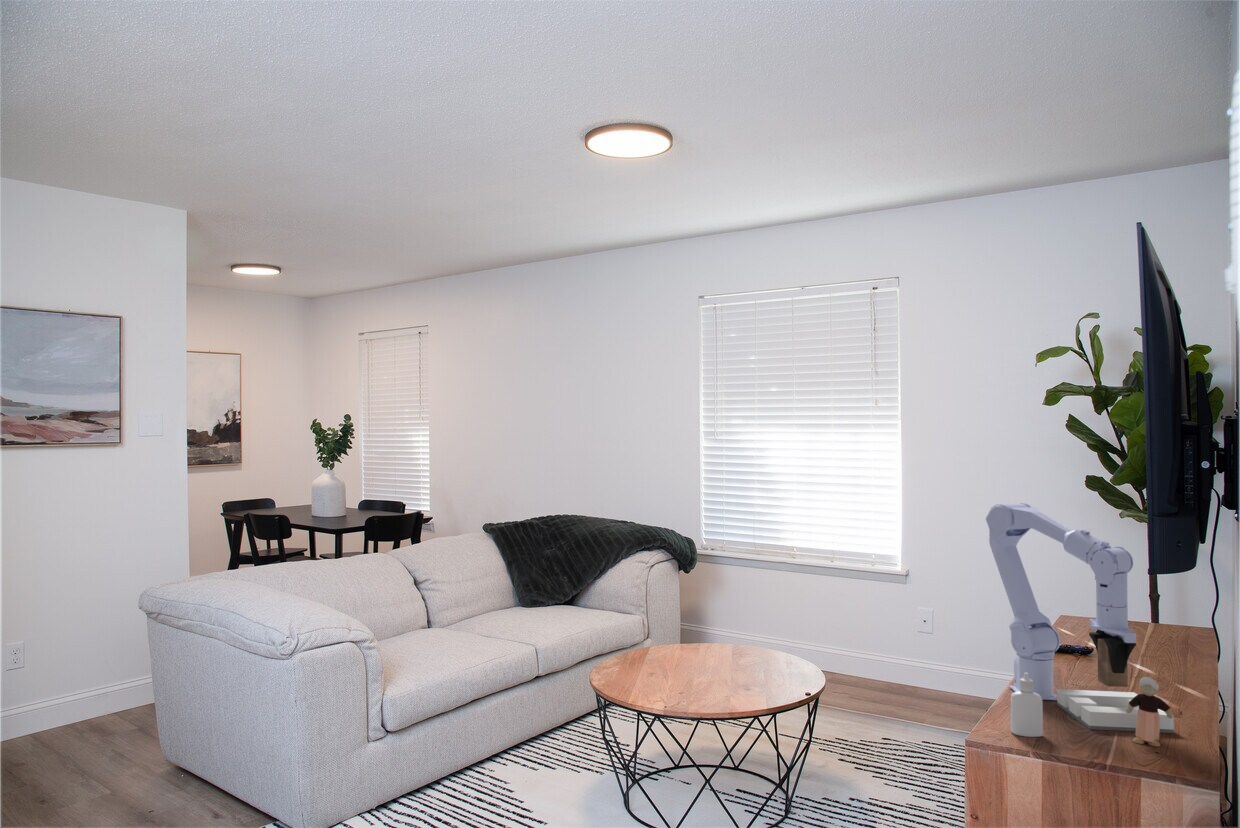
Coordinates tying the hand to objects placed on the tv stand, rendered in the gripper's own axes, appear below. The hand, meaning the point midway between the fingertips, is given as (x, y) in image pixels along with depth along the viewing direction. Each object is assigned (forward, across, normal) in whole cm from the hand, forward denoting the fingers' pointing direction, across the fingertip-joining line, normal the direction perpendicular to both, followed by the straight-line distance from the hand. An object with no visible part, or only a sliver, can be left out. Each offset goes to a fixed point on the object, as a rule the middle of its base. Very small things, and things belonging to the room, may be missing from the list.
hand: (1112, 669), depth 178 cm
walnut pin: (+3, 0, 0) cm, 3 cm away
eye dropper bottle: (+10, +12, -23) cm, 28 cm away
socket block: (+10, 0, 0) cm, 10 cm away
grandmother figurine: (+10, +15, -1) cm, 18 cm away
